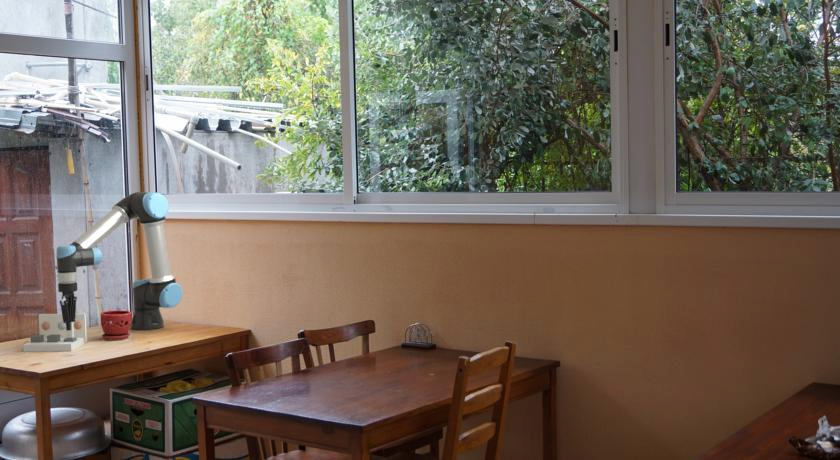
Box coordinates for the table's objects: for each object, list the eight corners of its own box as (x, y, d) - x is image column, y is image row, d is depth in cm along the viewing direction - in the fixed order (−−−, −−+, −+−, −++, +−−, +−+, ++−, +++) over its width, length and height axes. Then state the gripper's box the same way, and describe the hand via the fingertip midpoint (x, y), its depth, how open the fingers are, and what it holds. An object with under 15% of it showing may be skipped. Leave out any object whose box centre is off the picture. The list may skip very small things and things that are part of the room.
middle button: (60, 341, 397) (60, 334, 397) (56, 343, 393) (56, 336, 393) (51, 341, 397) (50, 334, 397) (47, 343, 393) (46, 336, 393)
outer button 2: (44, 341, 397) (43, 334, 397) (40, 343, 393) (39, 336, 393) (34, 341, 397) (34, 334, 397) (30, 343, 393) (30, 336, 393)
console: (83, 344, 402) (83, 337, 402) (71, 351, 388) (70, 343, 388) (37, 345, 403) (37, 338, 402) (23, 351, 389) (23, 344, 388)
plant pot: (108, 342, 406) (107, 315, 405) (96, 338, 416) (95, 312, 415) (137, 338, 414) (136, 311, 414) (124, 334, 424) (123, 308, 423)
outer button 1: (77, 344, 397) (76, 337, 397) (73, 346, 393) (73, 339, 393) (67, 344, 397) (67, 337, 397) (63, 346, 393) (63, 339, 393)
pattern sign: (88, 342, 408) (87, 312, 407) (84, 344, 403) (82, 314, 402) (42, 342, 408) (41, 313, 407) (38, 345, 403) (36, 315, 402)
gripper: (64, 280, 400) (67, 334, 402) (52, 284, 387) (55, 340, 389) (82, 280, 400) (84, 334, 401) (70, 284, 387) (73, 340, 388)
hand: (70, 337), depth 395 cm, fingers closed
